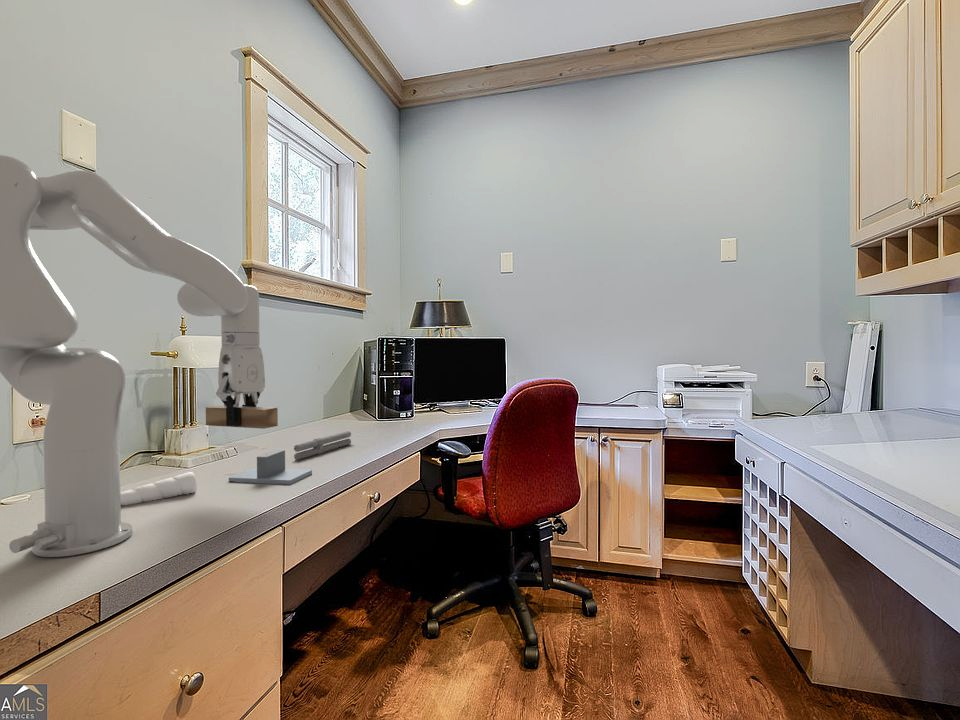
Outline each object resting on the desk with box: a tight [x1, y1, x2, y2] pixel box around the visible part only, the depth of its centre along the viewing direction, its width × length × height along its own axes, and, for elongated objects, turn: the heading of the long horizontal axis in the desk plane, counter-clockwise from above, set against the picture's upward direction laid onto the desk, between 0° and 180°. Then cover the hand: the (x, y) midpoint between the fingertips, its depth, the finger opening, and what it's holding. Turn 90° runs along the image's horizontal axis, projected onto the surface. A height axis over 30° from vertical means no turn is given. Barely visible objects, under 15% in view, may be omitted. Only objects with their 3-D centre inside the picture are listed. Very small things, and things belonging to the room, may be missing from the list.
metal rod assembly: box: [293, 430, 352, 461], centre depth 150 cm, size 26×3×5 cm, turn 161°
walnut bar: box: [205, 404, 279, 430], centre depth 106 cm, size 4×16×4 cm, turn 72°
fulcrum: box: [228, 449, 313, 485], centre depth 119 cm, size 10×16×6 cm, turn 80°
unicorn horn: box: [120, 471, 198, 506], centre depth 99 cm, size 5×24×5 cm, turn 131°
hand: (241, 423), depth 106 cm, fingers closed on walnut bar, 4 cm apart
